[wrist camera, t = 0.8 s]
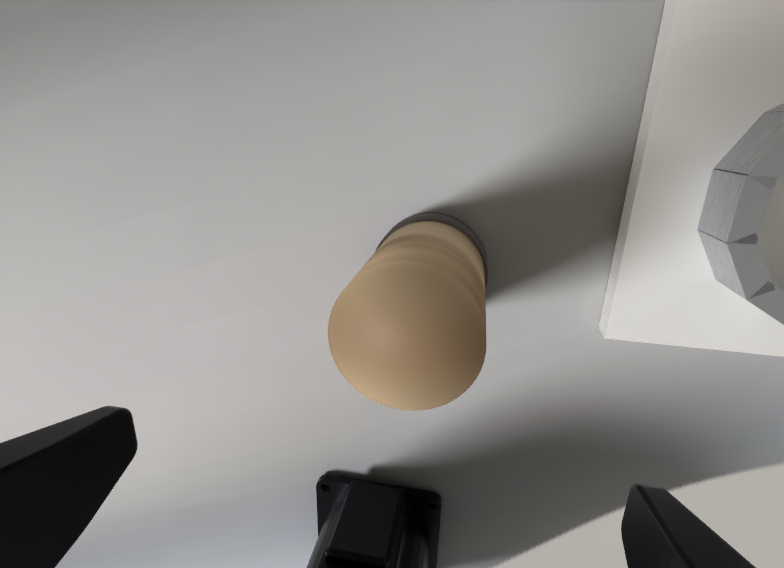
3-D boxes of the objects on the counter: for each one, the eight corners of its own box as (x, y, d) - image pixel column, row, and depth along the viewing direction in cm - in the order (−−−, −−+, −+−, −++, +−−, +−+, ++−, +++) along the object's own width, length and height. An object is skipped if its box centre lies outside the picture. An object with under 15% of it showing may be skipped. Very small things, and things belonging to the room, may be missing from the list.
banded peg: (481, 322, 19) (481, 423, 13) (377, 311, 20) (326, 402, 13) (492, 216, 18) (499, 269, 11) (378, 209, 18) (322, 255, 12)
